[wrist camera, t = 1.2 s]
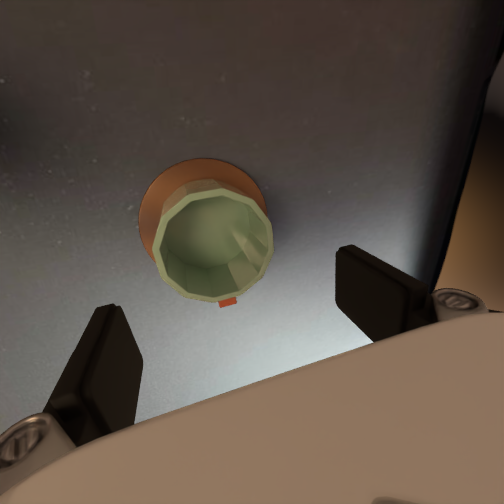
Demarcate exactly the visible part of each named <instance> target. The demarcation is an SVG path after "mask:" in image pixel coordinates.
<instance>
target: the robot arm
mask: <svg viewBox="0 0 504 504" xmlns="http://www.w3.org/2000/svg"><path fill="white" fill-rule="evenodd" d="M427 291H428V285H426V284H424V283H423V282H421V281H419V280H417V279H415V278H413V277H412V276H410V275H408V274H406V273H404V272H402V271H401V270H399V269H397V268H395V267H393V266H391V265H390V264H388V263H386V262H384V261H382V260H380V259H379V258H377V257H375V256H373V255H371V254H369V253H368V252H366V251H364V250H362V249H360V248H358V247H357V246H355V245H347V246H343V247H340V248H339V250H338V251H337V252H336V270H335V301H336V304H337V306H338V308H339V309H340V310H341V311H342V312H343V313H344V314H345V315H346V316H347V317H348V318H349V319H350V320H351V321H352V322H353V323H355V324H356V325H357V326H358V327H359V328H360V329H361V330H362V331H363V332H364V333H365V334H366V335H367V336H368V337H369V338H370V339H371V340H372V341H373V342H374V343H371V344H368V345H365V346H362V347H359V348H356V349H353V350H350V351H347V352H344V353H341V354H338V355H335V356H332V357H329V358H326V359H323V360H320V361H317V362H314V363H311V364H308V365H305V366H302V367H299V368H296V369H293V370H290V371H287V372H284V373H281V374H278V375H275V376H273V377H270V378H267V379H264V380H261V381H258V382H255V383H252V384H249V385H246V386H243V387H240V388H237V389H234V390H232V391H229V392H226V393H223V394H220V395H217V396H214V397H211V398H208V399H205V400H203V401H200V402H197V403H194V404H191V405H188V406H185V407H182V408H179V409H176V410H174V411H171V412H168V413H165V414H162V415H159V416H156V417H153V418H151V419H148V420H145V421H142V422H139V423H137V424H134V421H135V415H136V408H137V402H138V396H139V389H140V383H141V376H142V370H143V358H142V355H141V353H140V350H139V348H138V346H137V343H136V341H135V338H134V336H133V334H132V331H131V329H130V326H129V324H128V322H127V319H126V317H125V315H124V312H123V310H122V308H121V306H116V305H115V304H109V305H105V306H101V307H97V308H96V309H95V311H94V313H93V315H92V317H91V319H90V321H89V323H88V325H87V327H86V329H85V331H84V333H83V335H82V337H81V339H80V341H79V343H78V345H77V347H76V349H75V350H74V352H73V353H72V355H71V357H70V359H69V361H68V363H67V365H66V367H65V369H64V371H63V373H62V375H61V377H60V379H59V380H58V382H57V384H56V386H55V388H54V390H53V392H52V394H51V396H50V398H49V400H48V402H47V404H46V406H45V408H44V410H43V412H42V413H37V414H33V415H31V416H28V417H26V418H24V419H22V420H20V421H19V422H17V423H15V424H14V425H12V426H11V427H10V428H8V429H7V430H6V431H5V432H3V433H2V434H1V435H0V504H504V312H500V311H494V310H488V309H487V307H486V305H485V303H484V302H483V301H482V300H481V299H480V298H479V297H477V296H476V295H474V294H471V293H469V292H466V291H462V290H459V289H453V288H443V289H438V290H435V291H434V292H433V293H432V295H430V294H429V293H427Z"/></svg>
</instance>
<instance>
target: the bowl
mask: <svg viewBox="0 0 504 504" xmlns="http://www.w3.org/2000/svg"><path fill="white" fill-rule="evenodd" d="M152 252H153V255H154V258H155V261H156V264H157V267H158V270H159V273H160V276H161V278H162V279H163V280H164V281H165V282H166V283H167V284H169V285H170V286H171V287H172V288H173V289H175V290H176V291H177V292H178V293H180V294H181V295H182V296H183V297H185V298H190V299H196V300H201V301H207V302H212V303H213V302H218V303H219V306H220V308H222V307H225V306H229V305H232V304H236V303H237V301H236V296H240V295H242V294H243V293H244V292H246V291H247V290H248V289H249V288H250V287H252V286H253V285H254V284H255V283H256V282H258V281H259V280H260V279H261V278H262V276H264V274H265V271H266V269H267V267H268V264H269V262H270V260H271V258H272V255H273V253H274V243H273V233H272V224H271V222H270V221H269V219H268V218H267V217H266V215H265V214H264V213H263V211H262V210H261V209H260V208H259V206H258V205H257V204H256V202H255V201H254V200H253V199H251V198H250V197H249V196H247V195H246V194H244V193H243V192H241V191H240V190H239V189H237V188H235V187H233V186H230V185H228V184H226V183H224V182H220V181H217V180H214V179H203V180H196V181H192V182H189V183H185V184H183V185H182V186H181V187H179V188H178V189H176V190H175V191H174V192H173V193H172V194H171V195H170V196H169V197H168V198H167V199H166V200H165V201H164V203H163V206H162V210H161V212H160V217H159V220H158V223H157V227H156V232H155V236H154V241H153V246H152Z"/></svg>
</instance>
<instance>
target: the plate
mask: <svg viewBox="0 0 504 504" xmlns="http://www.w3.org/2000/svg"><path fill="white" fill-rule="evenodd" d="M203 179H214V180H217V181H220V182H224V183H226V184H228V185H230V186H233V187H235V188H237V189H239V190H240V191H241V192H243V193H244V194H246V195H247V196H249V197H250V198H251V199H253V200H254V201H255V202H256V204H257V205H258V206H259V208H260V209H261V210H262V211H263V213H264V214H265V215H266V217H267V209H266V204H265V201H264V198H263V196H262V194H261V192H260V190H259V188H258V187H257V185H256V184H255V183H254V182H253V180H252V179H251V178H250V177H249V176H248V175H247V174H245V173H244V172H243V171H241V170H240V169H239V168H237V167H235V166H233V165H231V164H229V163H226V162H223V161H220V160H215V159H208V158H198V159H190V160H186V161H182V162H180V163H177V164H175V165H173V166H171V167H169V168H168V169H166V170H165V171H164V172H162V173H161V174H160V175H159V176H158V177H157V178H156V179H155V180H154V181H153V182H152V184H151V185H150V186H149V188H148V189H147V191H146V193H145V195H144V197H143V200H142V203H141V205H140V211H139V222H138V223H139V232H140V236H141V240H142V242H143V245H144V247H145V249H146V250H147V252H148V254H149V255H150V257H151V258H152V259H153V260H154V262H155V263H156V261H155V258H154V255H153V252H152V246H153V241H154V236H155V232H156V227H157V223H158V220H159V217H160V212H161V210H162V206H163V203H164V201H165V200H166V199H167V198H168V197H169V196H170V195H171V194H172V193H173V192H174V191H175V190H176V189H178V188H179V187H181V186H182V185H183V184H185V183H189V182H192V181H196V180H203Z"/></svg>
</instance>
